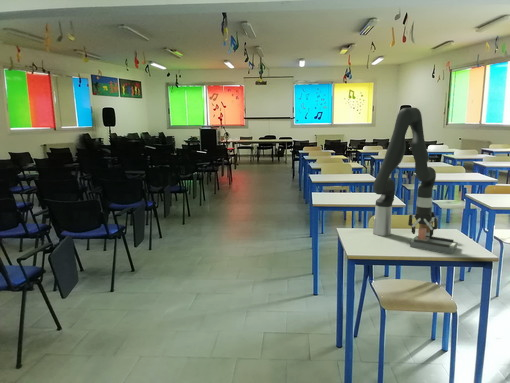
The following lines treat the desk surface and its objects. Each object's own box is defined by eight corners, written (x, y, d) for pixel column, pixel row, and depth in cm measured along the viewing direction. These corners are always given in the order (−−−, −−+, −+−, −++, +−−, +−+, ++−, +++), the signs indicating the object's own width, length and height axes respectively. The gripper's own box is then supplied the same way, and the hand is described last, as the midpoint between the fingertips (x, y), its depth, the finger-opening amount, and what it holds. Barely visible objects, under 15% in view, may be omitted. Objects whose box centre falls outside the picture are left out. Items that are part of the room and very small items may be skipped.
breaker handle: (414, 240, 204) (414, 229, 203) (417, 236, 210) (418, 226, 209) (426, 242, 201) (426, 231, 200) (429, 238, 206) (430, 228, 205)
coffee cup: (425, 240, 214) (426, 214, 212) (413, 236, 222) (415, 210, 219) (436, 238, 217) (438, 212, 215) (424, 234, 225) (426, 209, 222)
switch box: (410, 246, 204) (410, 239, 203) (416, 241, 213) (416, 233, 212) (451, 254, 192) (452, 246, 191) (456, 247, 201) (457, 239, 200)
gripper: (408, 205, 203) (406, 234, 206) (437, 208, 195) (434, 239, 198) (412, 202, 209) (410, 231, 212) (440, 205, 201) (438, 235, 203)
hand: (422, 235), depth 205 cm, fingers open, 8 cm apart
